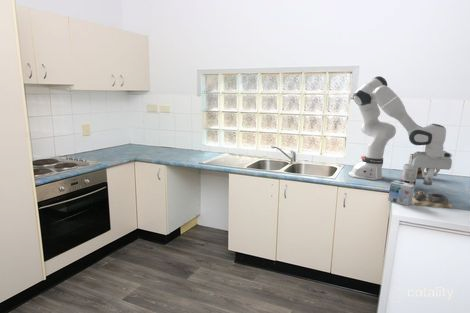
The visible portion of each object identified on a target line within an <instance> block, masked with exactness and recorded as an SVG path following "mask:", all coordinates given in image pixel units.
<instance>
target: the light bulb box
mask: <svg viewBox="0 0 470 313" xmlns="http://www.w3.org/2000/svg"><path fill="white" fill-rule="evenodd" d="M415 189H416V184H415V185H413V184H409V183H404V182H401V180H400V181H399V180H396V179H395V180H393V181H391V182H390V186H389V192H388V198H387V201H390V202H393V203H395V204H400V205H403V206H406V207H409V205H411V204H413V202H412V199H413V196H414V193H415Z"/></svg>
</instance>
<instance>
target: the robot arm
mask: <svg viewBox="0 0 470 313" xmlns="http://www.w3.org/2000/svg"><path fill="white" fill-rule="evenodd" d="M352 98H353V101H354V103H356V105H357V106H358V108H359V111H360V113H361V116H362V119H363V123H362V125H361V131H362V133H363V134H365V135H366V136H368V137H373V139H372V141H371V142H370V143H368V144H367V146H366V152H365V155H361V156H360V158H361V161H360V162H358V163H356V164H354V165H353V166H352V170H350V171H348V175H349V176H350V177H352V178H356V179H363V180H369V181H370V180H372V181H377V180H382V179H383V164H384V153H385V147H386V145H387V144H388V142H389V141H390V140H391V139H393V138H394V137H395V135H396V133H397V128H396V126H394V125H393V124H391V123H389V122H383V121H380V120H379V116H380V115H381V110H382V111H383V112H384V113H385V114H386V115H387V116H389V117H390V118H393V119H395V120H397V121H398V122H399V123H400V124H401V125H402V126H403V128H404V129H405V130H406V131H407V135H408V139H409V142H410V143H411V144H413V145H414V146H425V147H424V151H416V152H414V153H413V154H414V155H413V160H412V166H413V167H418V168H421V170H422V175H423V176H425V175H426V172H425V171H426V168H433V169H435V171H434V177H437V175H438V173H439V172H440V171H441V170H448V171H449V170H451V168H452V165H453V164H452V163H453V160H452V157H453V154H452V153H450V152H448V151H446V150H444V148H445V147H444V144H445V142H446V136H447V128H446V127H445V126H443V125H442V124H437V123H430V124H429V125H427V126H421V125H418V124H417V123H416V122H415V121H414V120H413V119H412V117H411V116H410V115H409V114H408V111H407V109H406V107H405V105H404V103H403V101H402V100H401V98H400V97H399V96H398V94H396V93H395V92H394V91H393V89H392V88H390V87H389V86H388V82H387V80H386V78H384V77H383V76H380V75H379V76H376V77H373V78H372V79H370V80H369V81H367V82H365V83H364V84H363V85H362V86H360V88H358V89H357V90H355V91H354V93H353V94H352ZM379 107H380V108H379ZM380 109H381V110H380Z"/></svg>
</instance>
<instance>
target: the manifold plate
mask: <svg viewBox="0 0 470 313" xmlns="http://www.w3.org/2000/svg"><path fill="white" fill-rule="evenodd" d="M449 201H450V199H449V198H448V197H447V196H446V195H444V194H443V193H431V192H427V195H426V194H425V193H424V191H421V190H418V192H414V193H413V199H412V204H414V205H415V206H420V205H421V206H422V207H423V206H424V207H431V206H433V208H443V209H452V208H453V205H452V204H451V203H449Z"/></svg>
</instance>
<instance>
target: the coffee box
mask: <svg viewBox="0 0 470 313" xmlns="http://www.w3.org/2000/svg"><path fill="white" fill-rule="evenodd" d="M413 155H414V153H410V154H409V157H408V163H407V164H412V160H413ZM416 179H424V175H422V170H421V168H418V172H417V178H416Z"/></svg>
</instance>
